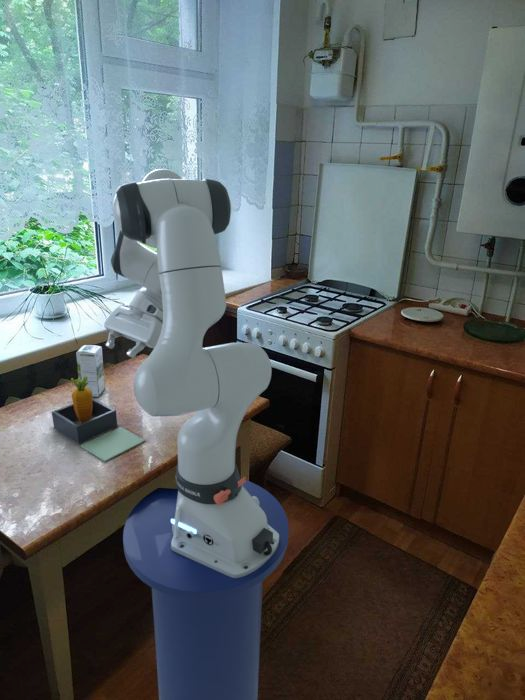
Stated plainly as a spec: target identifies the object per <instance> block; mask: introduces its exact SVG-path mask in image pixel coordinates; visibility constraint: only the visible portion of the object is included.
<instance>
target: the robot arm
mask: <svg viewBox="0 0 525 700" xmlns="http://www.w3.org/2000/svg"><path fill="white" fill-rule="evenodd" d="M114 195H115V196H114V198H113V203H112V215H113V219H114V221H115V224H116V226H117V227H118V229H119V232H118V236H117V241H116V244H115V247H114V250H113V253H112V255H111V258H110V264H111V267H112V270H113V272H114V273H115V274H116V275H118V276H120V277H123V278H125V279H127V280H130V281H132V282H133V283H135V284H137V285H139V286H141V288H140V289H138V290H137V292H136V293H135V295H134V297H133V298H132V299H131V301H130V302H129V303H127V302H125V303H122V304H120V305H118V306H117V307H116V308H114V310H113V311H112V312H111V313H110V314H109V316H108V317H107V318H106V320H105V321H104V323H103V324H104V325H103V327H104V328H105V329H106V330H108V331H109V332H108V336H107V341H106V343H104V344H105V345H104V346H105V347H106V348H108V349H109V350H113V349H114V347H115V346H116V343H115V341H116V339H117V338H118V337H119V336H120V337H123V338H126V339H128V340H131V341H133V342H135V346H133V347H132V348H129V349H128V350H127V352H126V356H128V357H129V358H131V359H135V357H136V356H137V354H138V353H140V352H142V351H143V350H144V349H145V347H148V348H150V349H152V351H151V353H149V355H148V356H147V358H146V359H145V360H144V361H142V363H141V364H140V365H139V367H138V368H137V370H136V372H135V375H134V379H133V394H134V397H135V400H136V401H137V403H138V405H139V406H140V408H141V409H142V410H143V411H144V412H145V413H146V414H148V415H149V416H151V417H179V416H183V415H187V414H191V413H194V414H193V415H192V416H191V417H190V418H189V419H187V420H186V421H185V422H184V424H182V426H181V428H180V429H179V432H178V434H177V437H176V443H177V444H176V446H177V464H176V469H175V482H176V483H175V485H176V489H178V497H177V504H176V512H175V517H174V519H171V523H172V532H173V538H172V541H171V549H172V550H173V551H174V552H176V553H179V554H181V555H183V556H185V557H187V558H190V559H192V560H194V561H196V562H198V563H201V564H203V565H205V566H207V567H209V568H212V569H214V570H216V571H218V572H220V573H223V574H225V575H227V576H229V577H232V578H240V577H243V576H246V575H248V574H250V573H252V572H254V571H255V570H257V569H258V568H260V567H261V566H262V565H263V564H264V563H265V562H266V561H267V560H268V559H269V558H270V557H271V556H272V555H273V554H274V552H275V551H276V549H277V547H278V544H279V534H278V533H277V532H276V531H275V530H274V529H273V528H272V527H270V526H269V525H268V523H267V517H266V514H265V512H264V511H263V510H262V509H261V507H260V506H259V504H260V503H259V500H258V498H257V497H256V496H253V497H252V496H251V495H250V494H249V493H248V492H247V490H246V489H245V488H244V487H243V486H242V484H244V483H245V482H246V481H247V477H246V476H244V477H243V478H241V476H240V475H241V474H240V472H239V469H238V466H237V463H236V449H237V438H238V433H239V429H240V427H241V424H242V422H243V420H244V418H245V416H246V413H247V412H248V411H249V409H250V407H251V406H252V405H253V403H254V402H255V401H256V399H258V397H260V396H261V394H262V393H264V392H265V391H266V390H267V389H268V387H269V385H270V383H271V380H272V376H273V375H272V373H273V372H272V371H273V368H272V363H271V360H270V358H269V355H268V354H267V352H266V350H264V349H263V348H262V346H260V345H259V344H258V343H253V342H251V343H250V342H229V343H222V344H217V345H212V346H206V347H203V343H204V338H205V335H206V333H207V331H208V329H210V328H211V327H212V326H213V325H215V324H216V323H217V322H219V321H220V319H222V317H223V316H224V314H225V311H226V310H227V309H226V308H227V298H226V290H225V284H224V276H223V269H222V262H221V261H222V260H221V256H220V250H219V246H218V243H217V238H216V235H218V234H220V233H223V232H225V231H226V229H227V228H228V226H230V225H229V224H230V221H231V215H232V202H231V198H230V196H229V192H228V189H227V188H226V186H224V184H222V182H220V181H218V180H214V179H209V178H203V179H201V180H200V179H187V178H182V176H181V175H179V174H178V173H177V172H175V171H173V170H171V169H167V168H158V169H153V170H151V171H150V172H149V173H147V174H146V175H145V176H144V178H143V180H142V181H140V182H137V181H136V180H135V181H130V182H126V183H123V184H121V185H119V186H118V187H117V189H116V190H115V193H114ZM148 247H150V248H153V249H156V251H153V250H152V249H150V248H148ZM244 480H245V481H244ZM182 547H183V548H182ZM245 568H247V569H245Z"/></svg>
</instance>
